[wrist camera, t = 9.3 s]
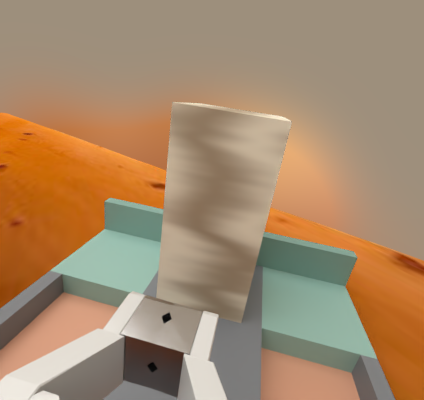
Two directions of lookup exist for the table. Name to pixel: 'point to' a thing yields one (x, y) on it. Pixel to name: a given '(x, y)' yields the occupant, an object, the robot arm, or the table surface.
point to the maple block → (217, 204)
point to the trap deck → (226, 330)
